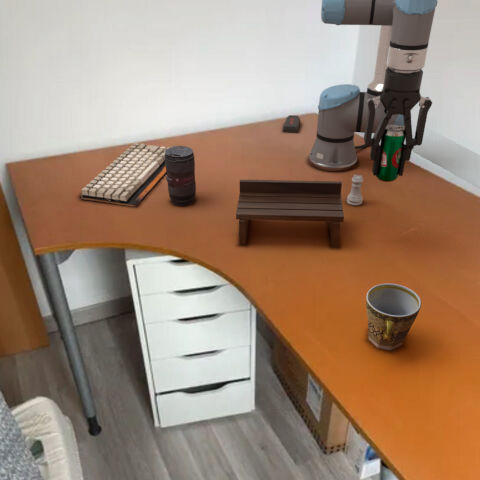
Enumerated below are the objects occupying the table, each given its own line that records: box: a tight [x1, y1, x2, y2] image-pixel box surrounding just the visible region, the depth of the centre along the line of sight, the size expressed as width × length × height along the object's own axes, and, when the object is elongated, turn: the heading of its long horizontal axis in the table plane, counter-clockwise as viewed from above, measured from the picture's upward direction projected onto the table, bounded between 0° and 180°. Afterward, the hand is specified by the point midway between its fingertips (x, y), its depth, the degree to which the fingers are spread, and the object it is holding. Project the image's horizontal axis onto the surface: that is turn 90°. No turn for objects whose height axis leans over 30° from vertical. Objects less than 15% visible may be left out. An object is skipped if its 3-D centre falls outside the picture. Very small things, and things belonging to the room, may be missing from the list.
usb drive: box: [282, 114, 301, 133], centre depth 195 cm, size 5×12×3 cm, turn 169°
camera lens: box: [165, 145, 197, 207], centre depth 146 cm, size 8×8×15 cm
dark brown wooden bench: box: [235, 179, 345, 249], centre depth 133 cm, size 14×26×12 cm, turn 85°
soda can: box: [375, 124, 406, 183], centre depth 119 cm, size 5×5×12 cm
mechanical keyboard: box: [79, 142, 171, 208], centre depth 164 cm, size 38×19×3 cm, turn 164°
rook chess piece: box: [346, 174, 364, 207], centre depth 146 cm, size 4×4×8 cm
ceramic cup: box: [365, 283, 422, 351], centre depth 100 cm, size 13×10×10 cm
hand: (387, 173), depth 122 cm, fingers closed on soda can, 5 cm apart
